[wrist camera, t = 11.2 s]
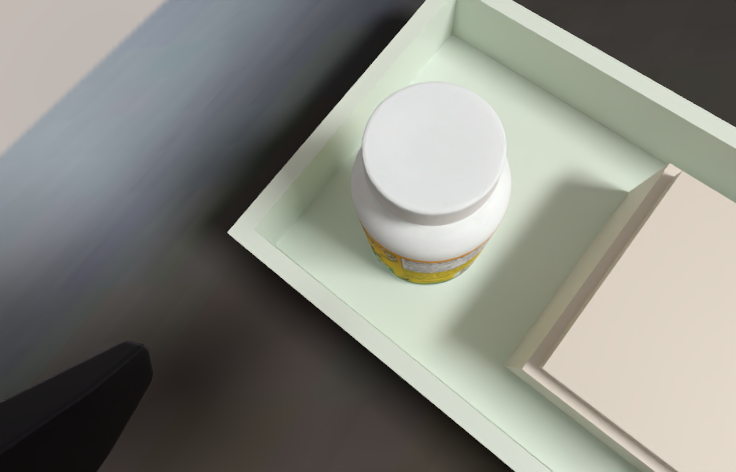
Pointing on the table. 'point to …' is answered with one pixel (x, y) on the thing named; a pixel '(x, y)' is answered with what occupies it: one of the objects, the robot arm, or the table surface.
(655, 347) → the beige lidded box
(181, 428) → the table surface
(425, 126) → the supplement bottle
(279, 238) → the tote
